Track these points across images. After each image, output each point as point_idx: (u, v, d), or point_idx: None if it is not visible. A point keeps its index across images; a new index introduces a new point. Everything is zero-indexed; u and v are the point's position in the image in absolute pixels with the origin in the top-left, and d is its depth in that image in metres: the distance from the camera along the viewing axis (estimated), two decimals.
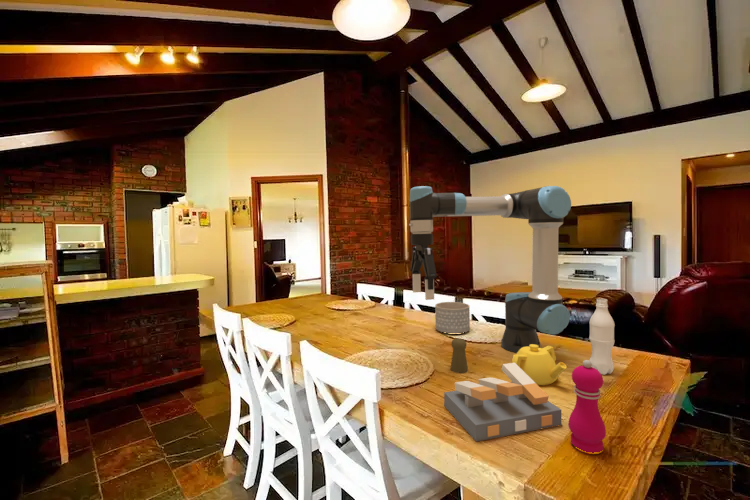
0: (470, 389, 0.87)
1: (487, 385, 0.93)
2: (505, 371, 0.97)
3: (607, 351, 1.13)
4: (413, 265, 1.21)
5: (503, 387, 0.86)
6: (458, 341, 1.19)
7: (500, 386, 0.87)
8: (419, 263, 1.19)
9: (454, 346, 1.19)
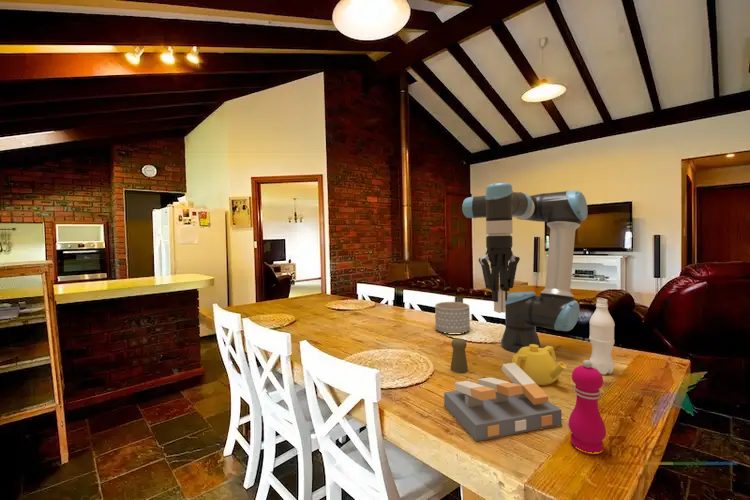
0: (470, 389, 0.87)
1: (487, 385, 0.93)
2: (505, 371, 0.97)
3: (608, 351, 1.13)
4: None
5: (503, 387, 0.86)
6: (458, 341, 1.19)
7: (500, 386, 0.87)
8: (502, 272, 1.04)
9: (454, 346, 1.19)
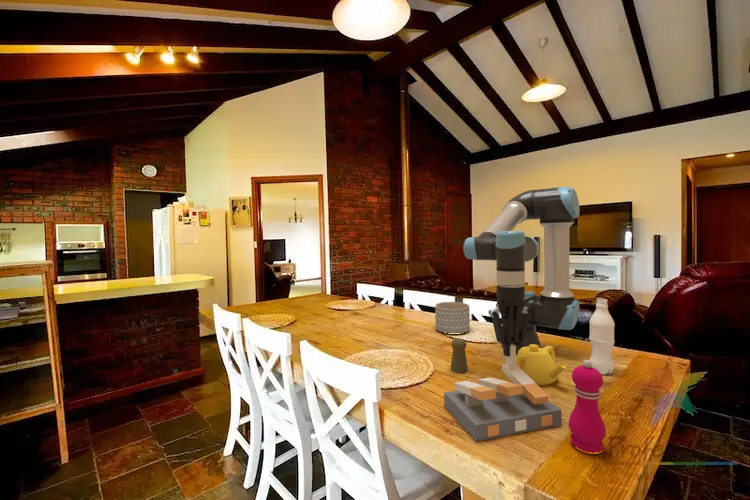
0: (470, 389, 0.87)
1: (487, 385, 0.93)
2: (505, 371, 0.97)
3: (607, 351, 1.13)
4: None
5: (503, 387, 0.86)
6: (458, 341, 1.19)
7: (500, 386, 0.87)
8: (513, 325, 0.97)
9: (454, 346, 1.19)
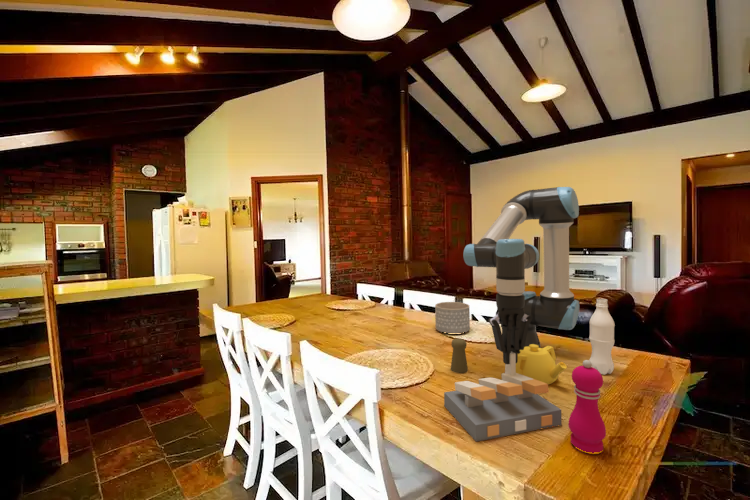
0: (470, 389, 0.87)
1: (487, 385, 0.93)
2: (505, 379, 0.97)
3: (607, 351, 1.13)
4: None
5: (503, 387, 0.86)
6: (458, 341, 1.19)
7: (500, 386, 0.87)
8: (513, 333, 0.97)
9: (454, 346, 1.19)
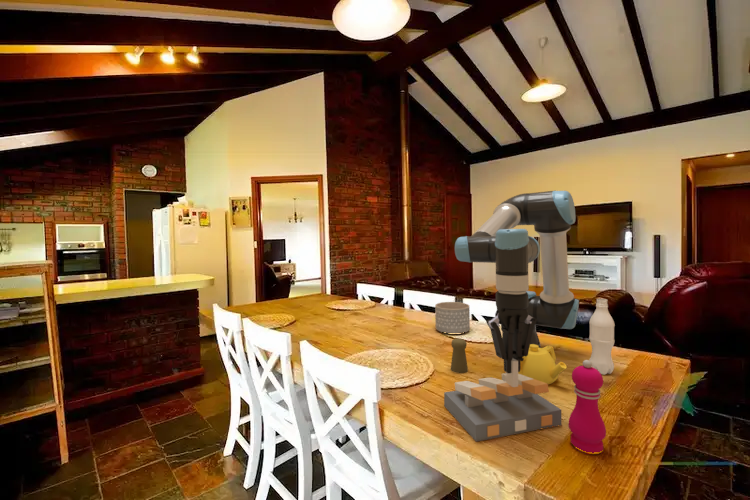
0: (470, 389, 0.87)
1: (487, 385, 0.93)
2: (505, 379, 0.97)
3: (607, 351, 1.13)
4: None
5: (503, 387, 0.86)
6: (458, 341, 1.19)
7: (500, 386, 0.87)
8: (515, 337, 0.84)
9: (454, 346, 1.19)
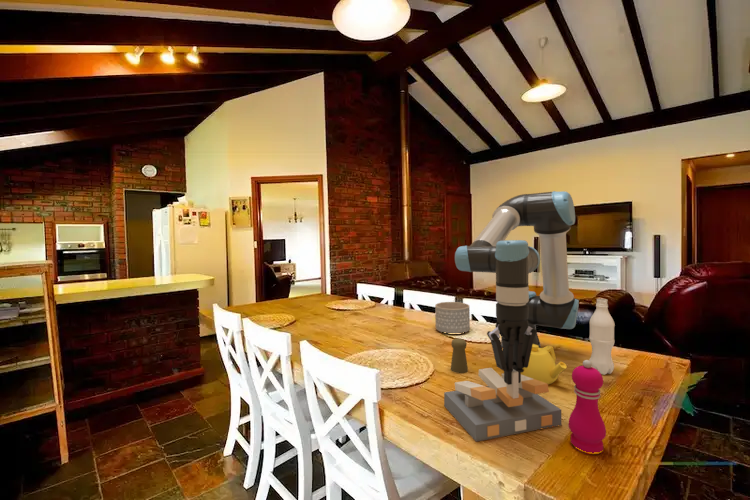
0: (470, 389, 0.87)
1: (487, 381, 0.93)
2: None
3: (608, 351, 1.13)
4: None
5: (504, 396, 0.85)
6: (458, 341, 1.19)
7: (501, 393, 0.87)
8: (515, 348, 0.84)
9: (454, 346, 1.19)
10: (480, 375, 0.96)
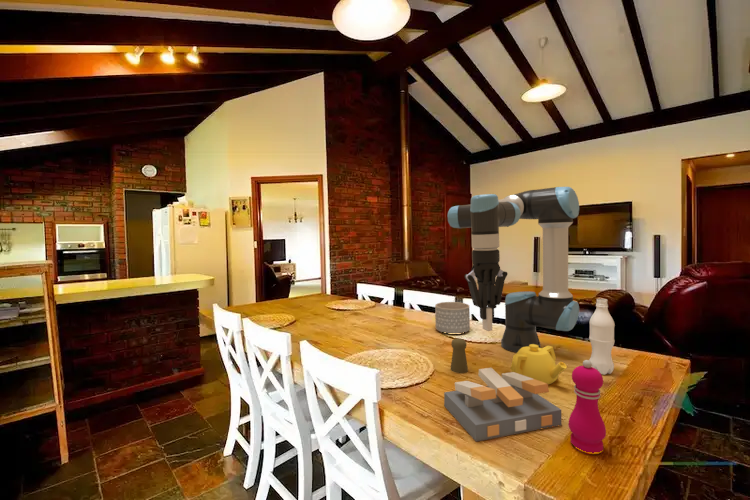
0: (470, 389, 0.87)
1: (487, 381, 0.93)
2: (505, 379, 0.97)
3: (607, 351, 1.13)
4: None
5: (504, 396, 0.85)
6: (458, 341, 1.19)
7: (501, 393, 0.87)
8: (489, 288, 0.98)
9: (454, 346, 1.19)
10: (480, 375, 0.96)
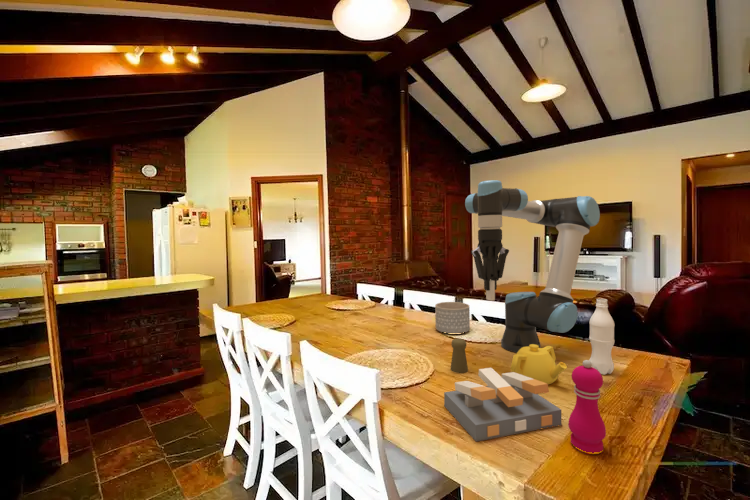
0: (470, 389, 0.87)
1: (487, 381, 0.93)
2: (505, 379, 0.97)
3: (607, 351, 1.13)
4: None
5: (504, 396, 0.85)
6: (458, 341, 1.19)
7: (501, 393, 0.87)
8: (492, 263, 1.12)
9: (454, 346, 1.19)
10: (480, 375, 0.96)
